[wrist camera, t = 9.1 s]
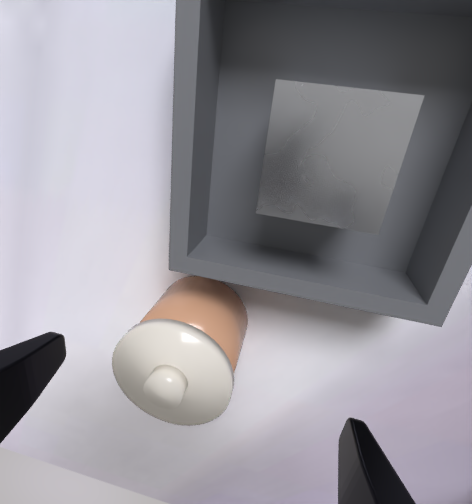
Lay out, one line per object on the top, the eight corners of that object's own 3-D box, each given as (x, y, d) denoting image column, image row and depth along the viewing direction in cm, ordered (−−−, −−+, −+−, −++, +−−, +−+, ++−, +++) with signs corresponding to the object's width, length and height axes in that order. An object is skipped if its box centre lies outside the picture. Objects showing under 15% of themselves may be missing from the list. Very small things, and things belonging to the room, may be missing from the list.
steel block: (358, 204, 17) (378, 234, 12) (268, 190, 17) (255, 213, 13) (388, 103, 15) (424, 95, 10) (284, 91, 15) (275, 79, 11)
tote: (412, 282, 19) (441, 327, 15) (195, 241, 21) (168, 269, 17) (527, -1, 13) (627, -56, 9) (212, -20, 15) (177, -73, 11)
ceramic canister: (244, 363, 24) (220, 454, 17) (159, 342, 25) (105, 421, 19) (257, 284, 21) (234, 359, 15) (159, 264, 22) (97, 325, 16)
